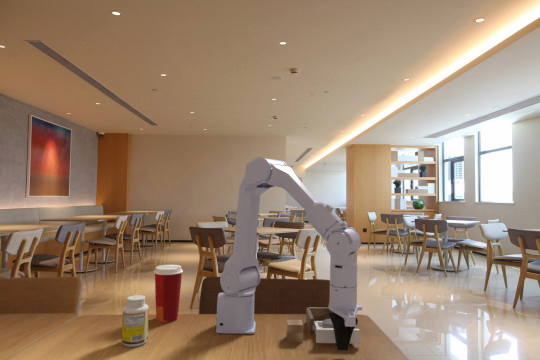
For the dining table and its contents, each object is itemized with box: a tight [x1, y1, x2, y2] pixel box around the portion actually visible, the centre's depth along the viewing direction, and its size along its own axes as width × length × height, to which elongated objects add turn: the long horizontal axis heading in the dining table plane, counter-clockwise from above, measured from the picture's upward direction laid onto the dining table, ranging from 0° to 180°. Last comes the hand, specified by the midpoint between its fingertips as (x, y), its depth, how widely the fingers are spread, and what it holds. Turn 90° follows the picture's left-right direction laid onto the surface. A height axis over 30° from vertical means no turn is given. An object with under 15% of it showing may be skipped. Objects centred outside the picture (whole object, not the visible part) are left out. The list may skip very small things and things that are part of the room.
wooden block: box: [286, 319, 304, 343], centre depth 88 cm, size 4×4×4 cm
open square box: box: [305, 306, 356, 336], centre depth 96 cm, size 11×9×4 cm
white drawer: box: [314, 321, 361, 345], centre depth 89 cm, size 10×10×3 cm
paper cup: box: [153, 264, 184, 324], centre depth 101 cm, size 8×8×14 cm
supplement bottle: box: [121, 294, 149, 348], centre depth 85 cm, size 6×6×10 cm
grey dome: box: [322, 319, 333, 328], centre depth 90 cm, size 6×6×2 cm
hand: (342, 349), depth 80 cm, fingers closed
